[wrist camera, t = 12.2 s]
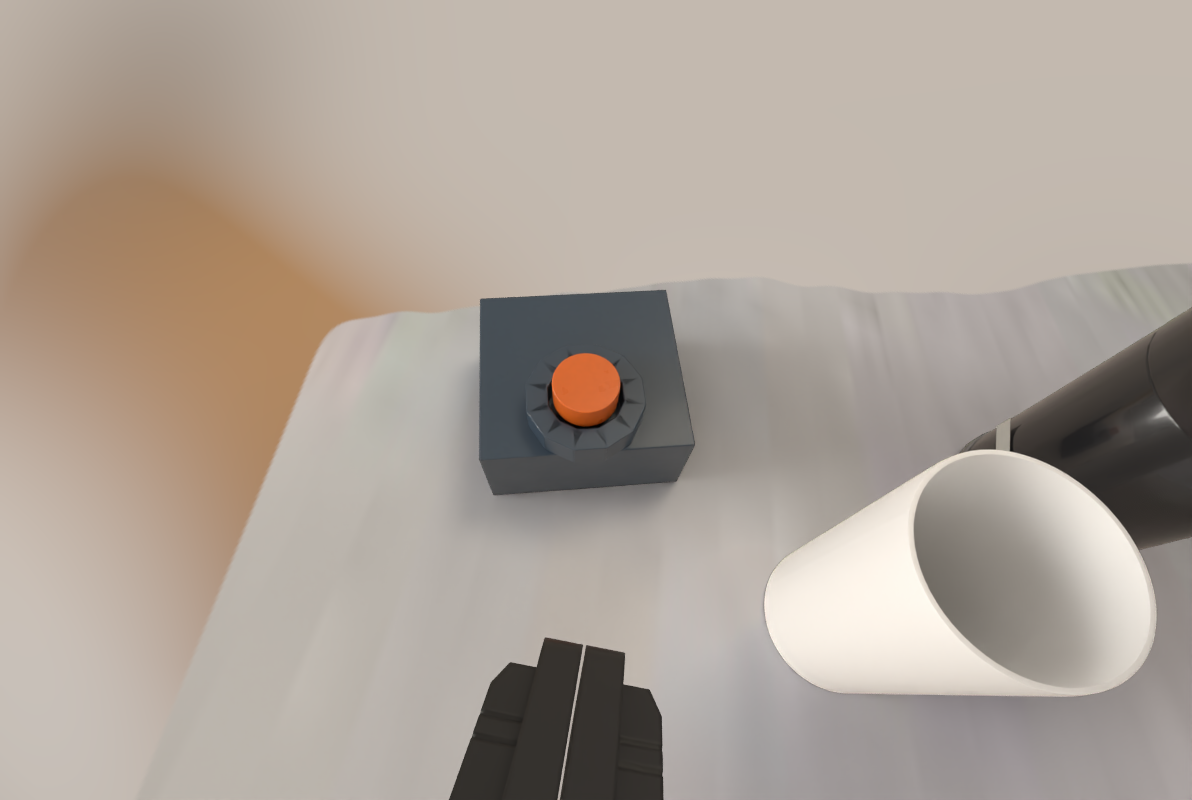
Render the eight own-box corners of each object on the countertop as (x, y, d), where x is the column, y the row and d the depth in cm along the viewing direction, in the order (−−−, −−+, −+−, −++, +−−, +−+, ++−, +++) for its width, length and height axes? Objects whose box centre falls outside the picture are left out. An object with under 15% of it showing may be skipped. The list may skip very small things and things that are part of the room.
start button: (614, 367, 32) (616, 350, 30) (621, 424, 30) (624, 410, 28) (551, 371, 31) (550, 354, 30) (554, 429, 30) (553, 414, 28)
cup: (889, 720, 31) (1164, 746, 16) (747, 654, 32) (888, 626, 18) (912, 579, 34) (1153, 501, 20) (783, 525, 35) (924, 415, 21)
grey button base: (653, 342, 42) (670, 270, 34) (678, 489, 36) (704, 441, 29) (492, 351, 41) (475, 279, 34) (493, 503, 35) (473, 457, 28)
